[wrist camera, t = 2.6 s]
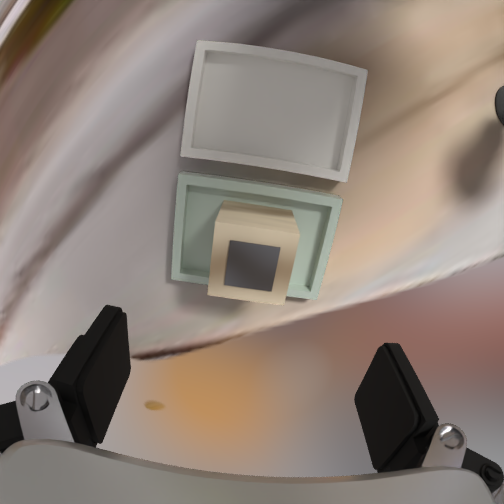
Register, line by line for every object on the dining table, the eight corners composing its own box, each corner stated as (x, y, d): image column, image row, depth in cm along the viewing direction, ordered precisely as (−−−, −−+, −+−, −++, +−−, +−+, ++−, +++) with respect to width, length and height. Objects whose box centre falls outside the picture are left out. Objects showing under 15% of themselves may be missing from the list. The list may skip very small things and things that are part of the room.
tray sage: (182, 171, 27) (178, 174, 26) (338, 195, 28) (342, 199, 26) (174, 272, 31) (171, 279, 30) (314, 291, 32) (316, 299, 30)
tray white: (200, 44, 23) (197, 40, 21) (362, 72, 23) (368, 70, 22) (184, 154, 27) (180, 156, 25) (342, 179, 27) (346, 182, 26)
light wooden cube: (223, 199, 28) (215, 222, 22) (291, 210, 28) (300, 235, 22) (216, 263, 30) (207, 297, 25) (279, 272, 30) (283, 308, 25)
